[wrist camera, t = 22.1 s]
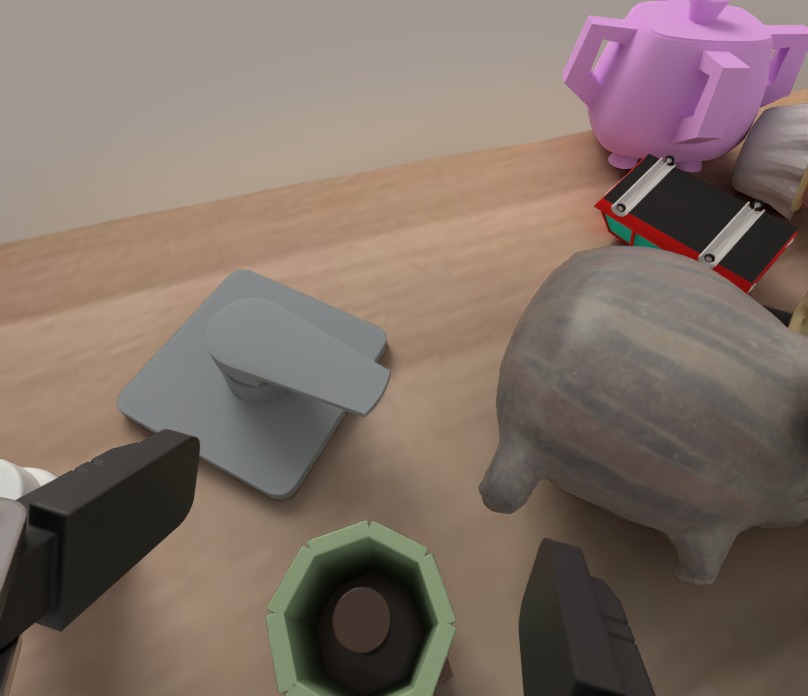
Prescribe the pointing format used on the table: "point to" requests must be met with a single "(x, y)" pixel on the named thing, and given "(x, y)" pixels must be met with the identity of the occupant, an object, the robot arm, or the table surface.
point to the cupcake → (776, 160)
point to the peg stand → (370, 634)
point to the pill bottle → (21, 480)
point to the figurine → (794, 317)
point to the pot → (681, 78)
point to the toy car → (694, 221)
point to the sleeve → (313, 587)
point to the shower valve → (261, 380)
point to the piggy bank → (655, 403)
